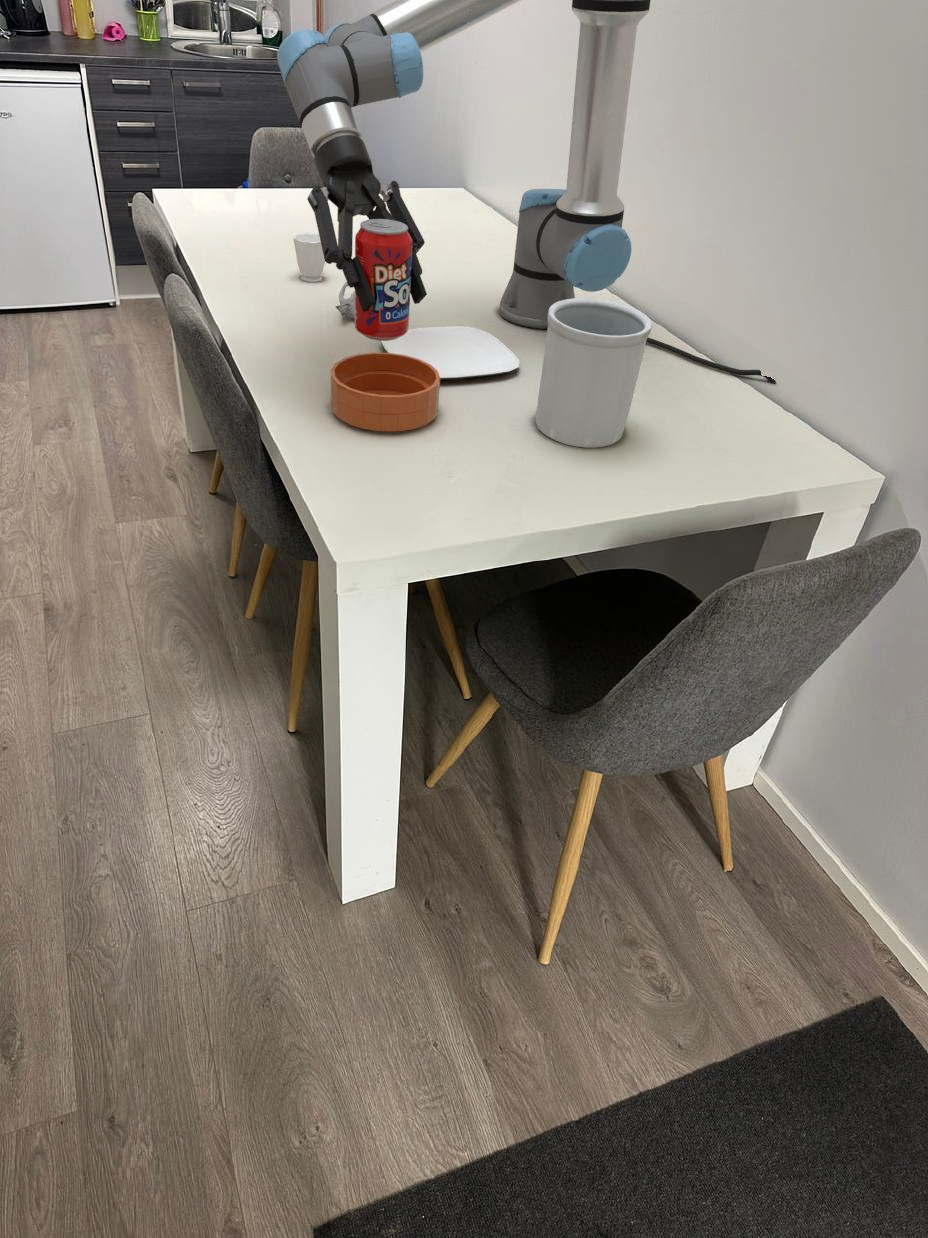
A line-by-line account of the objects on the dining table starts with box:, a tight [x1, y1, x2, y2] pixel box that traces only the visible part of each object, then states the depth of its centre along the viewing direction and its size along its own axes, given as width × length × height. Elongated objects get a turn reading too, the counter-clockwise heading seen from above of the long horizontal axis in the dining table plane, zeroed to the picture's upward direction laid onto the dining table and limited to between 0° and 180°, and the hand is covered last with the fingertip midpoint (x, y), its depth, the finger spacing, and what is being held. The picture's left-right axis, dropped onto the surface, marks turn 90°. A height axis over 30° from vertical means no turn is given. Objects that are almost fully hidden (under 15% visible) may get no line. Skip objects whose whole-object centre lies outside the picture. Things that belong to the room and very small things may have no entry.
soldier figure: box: [334, 281, 355, 320], centre depth 163 cm, size 8×5×12 cm
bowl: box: [330, 352, 441, 432], centre depth 131 cm, size 16×16×6 cm
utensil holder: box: [535, 297, 653, 449], centre depth 129 cm, size 15×15×18 cm
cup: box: [292, 232, 326, 283], centre depth 177 cm, size 7×10×8 cm
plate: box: [380, 325, 521, 380], centre depth 151 cm, size 22×22×2 cm
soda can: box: [354, 219, 412, 342], centre depth 122 cm, size 8×8×15 cm
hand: (395, 302), depth 121 cm, fingers closed on soda can, 8 cm apart
